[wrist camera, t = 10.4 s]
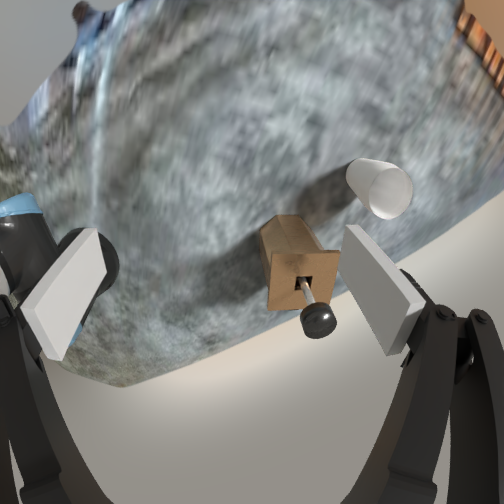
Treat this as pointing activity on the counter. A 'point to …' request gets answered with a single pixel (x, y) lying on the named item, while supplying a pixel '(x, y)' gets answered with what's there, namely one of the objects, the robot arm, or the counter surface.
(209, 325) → the counter surface
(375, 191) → the cup
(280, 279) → the block
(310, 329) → the plunger
